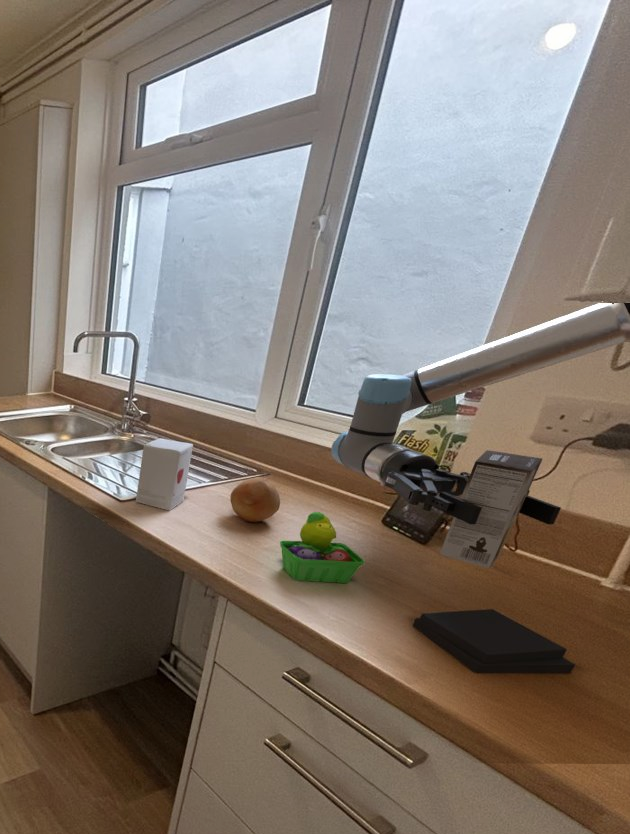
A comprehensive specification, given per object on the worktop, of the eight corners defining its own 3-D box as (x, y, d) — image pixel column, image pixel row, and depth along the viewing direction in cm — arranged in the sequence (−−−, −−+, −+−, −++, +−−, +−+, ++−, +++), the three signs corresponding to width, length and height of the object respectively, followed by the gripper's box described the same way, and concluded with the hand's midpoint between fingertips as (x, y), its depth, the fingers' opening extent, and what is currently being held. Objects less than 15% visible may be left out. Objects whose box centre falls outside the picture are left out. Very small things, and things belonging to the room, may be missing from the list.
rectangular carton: (170, 511, 126) (179, 451, 120) (134, 502, 131) (142, 444, 126) (184, 501, 132) (194, 443, 126) (150, 492, 137) (158, 437, 132)
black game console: (494, 624, 83) (501, 608, 81) (570, 673, 72) (580, 655, 71) (408, 624, 83) (414, 608, 82) (472, 673, 72) (480, 655, 71)
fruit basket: (290, 583, 95) (305, 526, 90) (270, 560, 103) (283, 507, 98) (359, 587, 93) (378, 530, 89) (333, 564, 101) (349, 510, 97)
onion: (224, 509, 127) (232, 469, 123) (270, 514, 124) (280, 474, 120) (229, 524, 118) (237, 483, 115) (279, 530, 115) (289, 488, 111)
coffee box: (450, 539, 90) (486, 448, 84) (502, 552, 85) (543, 457, 79) (437, 555, 84) (474, 460, 78) (491, 570, 80) (536, 470, 74)
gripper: (457, 487, 99) (584, 538, 79) (333, 487, 100) (427, 538, 79) (472, 449, 96) (607, 492, 76) (344, 449, 97) (444, 492, 77)
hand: (515, 516), depth 78 cm, fingers closed on coffee box, 11 cm apart
